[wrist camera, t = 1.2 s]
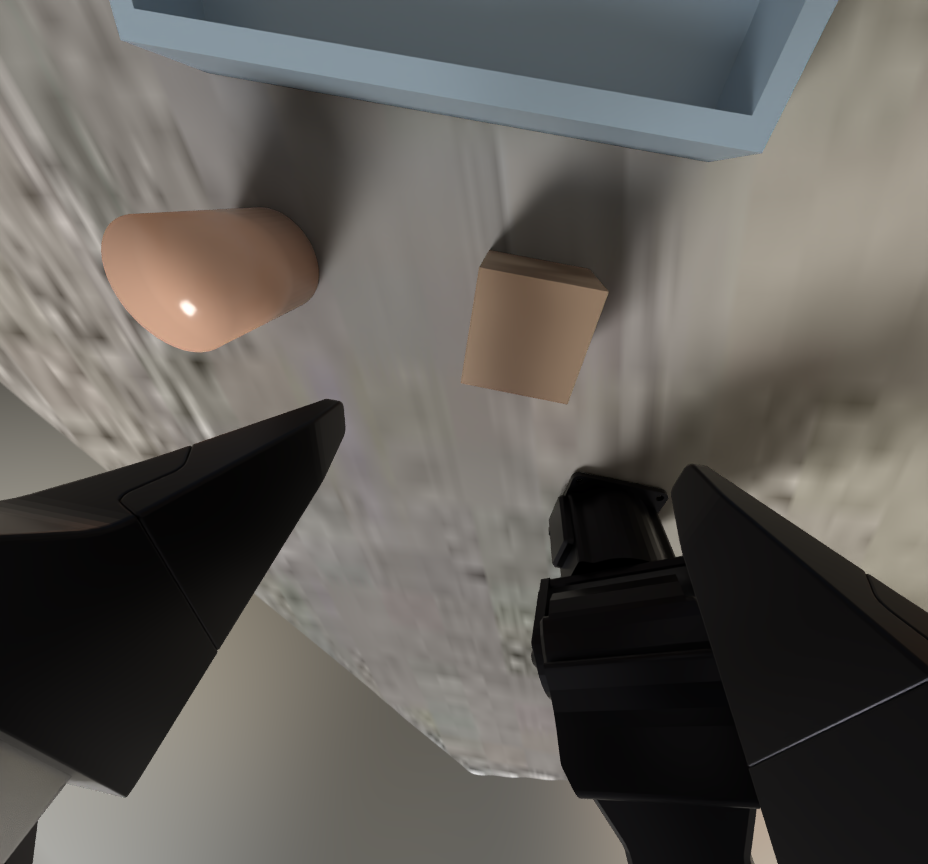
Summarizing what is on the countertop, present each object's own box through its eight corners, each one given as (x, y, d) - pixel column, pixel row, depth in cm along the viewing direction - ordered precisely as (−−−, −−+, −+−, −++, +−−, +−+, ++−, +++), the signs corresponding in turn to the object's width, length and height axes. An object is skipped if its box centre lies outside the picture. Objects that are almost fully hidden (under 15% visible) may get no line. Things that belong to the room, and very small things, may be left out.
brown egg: (314, 216, 18) (214, 228, 12) (322, 315, 21) (244, 362, 15) (219, 198, 18) (76, 201, 12) (240, 299, 21) (132, 339, 15)
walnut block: (588, 268, 17) (608, 291, 13) (558, 361, 20) (567, 404, 16) (489, 249, 18) (479, 267, 14) (473, 344, 20) (460, 383, 16)
